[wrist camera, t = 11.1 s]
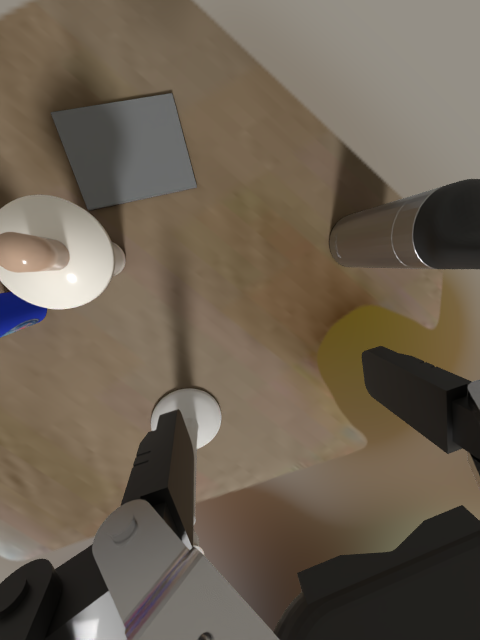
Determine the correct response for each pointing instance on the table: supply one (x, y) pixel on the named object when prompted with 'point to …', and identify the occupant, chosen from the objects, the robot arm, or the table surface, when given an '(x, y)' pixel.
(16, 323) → the beverage can
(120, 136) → the mat
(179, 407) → the candlestick
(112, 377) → the table surface
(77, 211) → the lid
